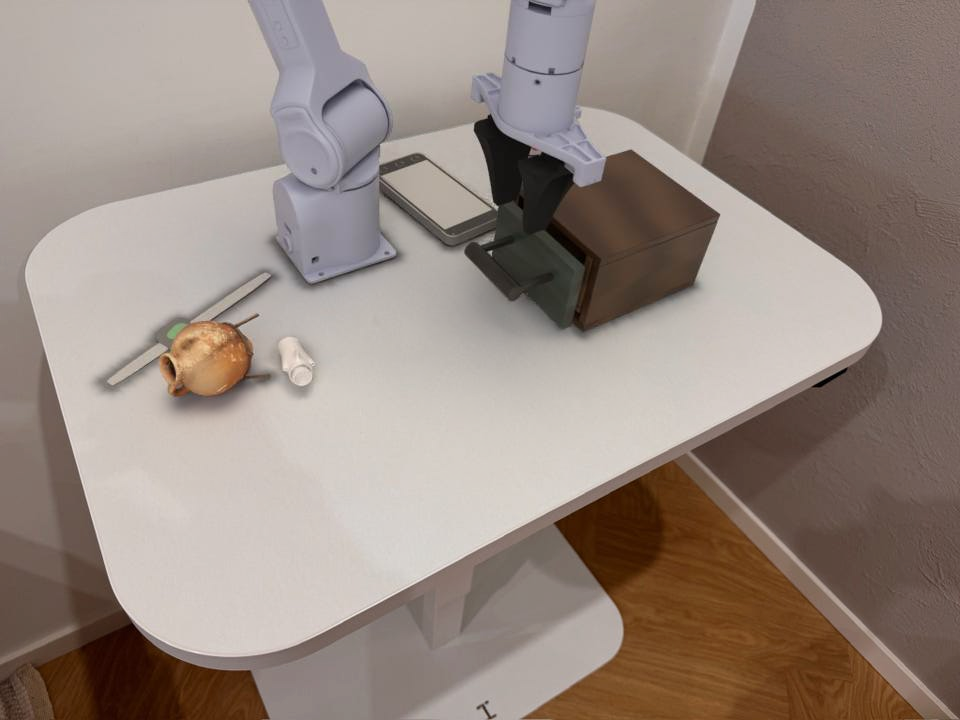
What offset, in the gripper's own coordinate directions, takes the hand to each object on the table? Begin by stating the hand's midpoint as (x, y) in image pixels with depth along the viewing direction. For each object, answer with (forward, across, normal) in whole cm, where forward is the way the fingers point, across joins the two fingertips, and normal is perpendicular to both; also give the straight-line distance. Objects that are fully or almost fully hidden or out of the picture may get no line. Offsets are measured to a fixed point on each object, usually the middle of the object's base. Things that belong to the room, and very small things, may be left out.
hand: (519, 215), depth 63 cm
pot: (+10, +6, +27) cm, 30 cm away
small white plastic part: (+11, +2, +20) cm, 23 cm away
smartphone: (+10, +18, -3) cm, 21 cm away
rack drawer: (+9, 0, -6) cm, 11 cm away
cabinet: (+10, 0, -12) cm, 16 cm away
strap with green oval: (+10, +12, +26) cm, 31 cm away
